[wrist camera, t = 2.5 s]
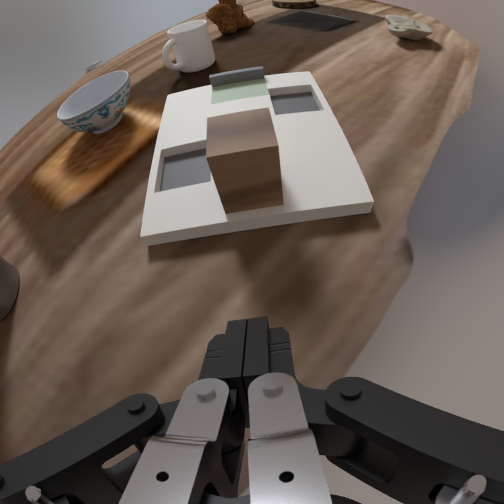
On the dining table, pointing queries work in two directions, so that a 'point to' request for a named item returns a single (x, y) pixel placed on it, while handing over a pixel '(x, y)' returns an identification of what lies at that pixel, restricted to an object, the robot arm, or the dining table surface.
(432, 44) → the dining table surface
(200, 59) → the mug
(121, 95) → the chinaware
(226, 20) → the stuffed squirrel
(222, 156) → the block
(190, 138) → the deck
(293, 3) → the wood slice
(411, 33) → the oil lamp
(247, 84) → the pad
